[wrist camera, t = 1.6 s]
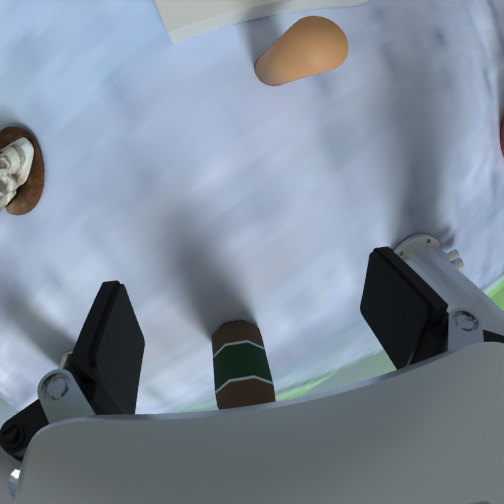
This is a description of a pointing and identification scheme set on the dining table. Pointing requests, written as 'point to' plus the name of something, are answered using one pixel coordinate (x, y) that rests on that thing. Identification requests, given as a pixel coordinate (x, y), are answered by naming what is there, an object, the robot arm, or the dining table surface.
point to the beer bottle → (240, 366)
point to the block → (229, 13)
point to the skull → (19, 171)
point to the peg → (303, 52)
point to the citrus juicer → (502, 137)
